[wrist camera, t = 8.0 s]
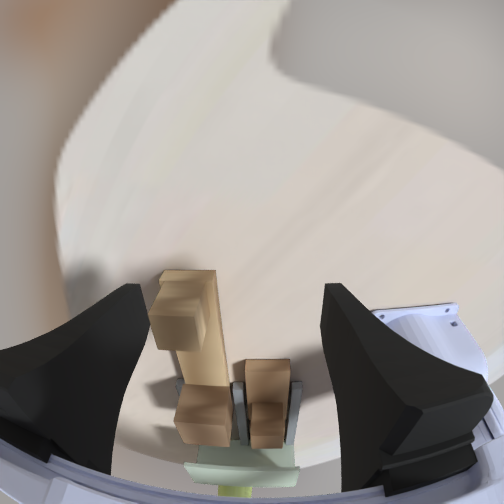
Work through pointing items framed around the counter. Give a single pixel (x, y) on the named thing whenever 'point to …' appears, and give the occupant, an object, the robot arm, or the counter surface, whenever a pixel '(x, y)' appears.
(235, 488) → the tube
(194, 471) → the shelter
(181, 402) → the cube
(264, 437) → the block brown
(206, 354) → the tan stepped wooden piece
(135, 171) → the counter surface
